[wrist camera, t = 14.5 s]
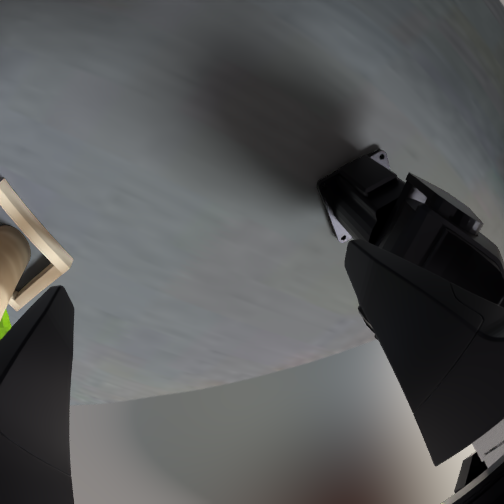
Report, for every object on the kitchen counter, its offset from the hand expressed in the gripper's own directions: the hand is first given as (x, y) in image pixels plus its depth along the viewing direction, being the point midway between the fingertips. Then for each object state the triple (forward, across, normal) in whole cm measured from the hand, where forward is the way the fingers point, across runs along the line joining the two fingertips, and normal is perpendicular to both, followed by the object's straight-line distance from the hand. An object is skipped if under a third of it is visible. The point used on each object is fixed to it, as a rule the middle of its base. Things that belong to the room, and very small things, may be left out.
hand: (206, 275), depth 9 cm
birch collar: (+13, +17, +5) cm, 22 cm away
